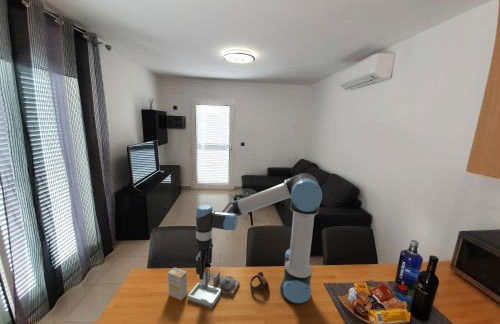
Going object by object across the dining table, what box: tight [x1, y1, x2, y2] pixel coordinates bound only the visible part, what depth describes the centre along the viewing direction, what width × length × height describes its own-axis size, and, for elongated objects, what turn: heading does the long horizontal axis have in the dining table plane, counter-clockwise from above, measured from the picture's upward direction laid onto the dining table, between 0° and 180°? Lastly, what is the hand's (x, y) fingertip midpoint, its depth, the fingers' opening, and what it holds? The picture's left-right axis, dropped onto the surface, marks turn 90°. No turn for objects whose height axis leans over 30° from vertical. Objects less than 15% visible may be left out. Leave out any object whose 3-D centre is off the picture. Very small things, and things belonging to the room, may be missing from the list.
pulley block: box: [208, 268, 240, 297], centre depth 114 cm, size 18×9×6 cm, turn 71°
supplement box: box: [167, 267, 188, 302], centre depth 106 cm, size 8×5×13 cm, turn 65°
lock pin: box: [202, 265, 210, 290], centre depth 105 cm, size 4×4×11 cm
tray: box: [187, 281, 222, 309], centre depth 106 cm, size 14×10×2 cm
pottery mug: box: [249, 271, 270, 293], centre depth 113 cm, size 12×10×8 cm
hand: (204, 281), depth 105 cm, fingers closed on lock pin, 3 cm apart
